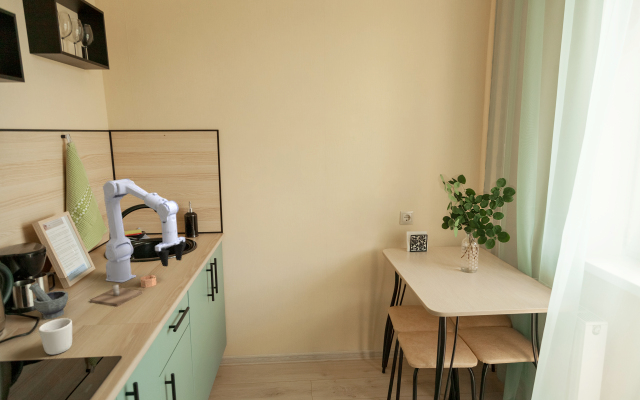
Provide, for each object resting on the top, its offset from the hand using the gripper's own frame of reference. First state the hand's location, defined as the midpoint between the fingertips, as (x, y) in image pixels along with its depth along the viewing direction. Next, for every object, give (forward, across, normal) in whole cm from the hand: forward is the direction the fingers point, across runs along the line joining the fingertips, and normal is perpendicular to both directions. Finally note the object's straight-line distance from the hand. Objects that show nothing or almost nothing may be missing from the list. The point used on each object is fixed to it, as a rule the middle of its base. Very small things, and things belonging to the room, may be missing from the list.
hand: (172, 263), depth 153 cm
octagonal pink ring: (+10, -3, +11) cm, 15 cm away
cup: (+10, -48, -2) cm, 49 cm away
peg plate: (+10, -17, +13) cm, 23 cm away
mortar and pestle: (+10, -36, +22) cm, 43 cm away
